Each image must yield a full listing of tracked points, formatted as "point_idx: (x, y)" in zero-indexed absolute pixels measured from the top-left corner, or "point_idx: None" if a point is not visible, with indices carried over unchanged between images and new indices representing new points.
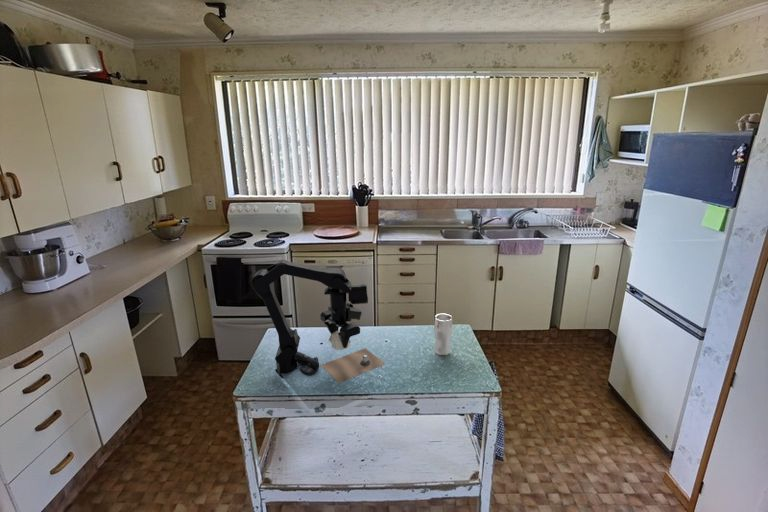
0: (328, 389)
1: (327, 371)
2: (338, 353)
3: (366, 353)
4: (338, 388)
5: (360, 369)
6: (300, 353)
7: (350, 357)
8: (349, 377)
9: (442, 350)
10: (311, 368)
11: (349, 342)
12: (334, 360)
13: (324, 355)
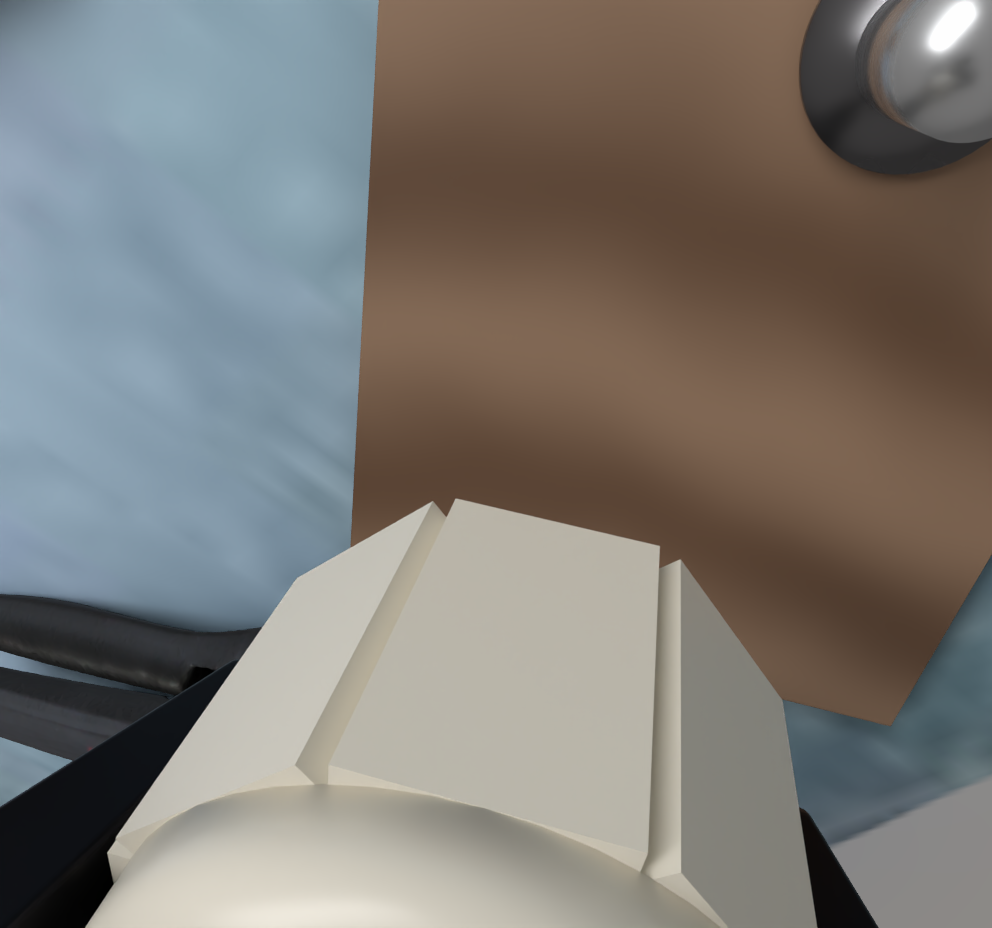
0: (805, 779)
1: None
2: (175, 130)
3: None
4: (904, 722)
5: (977, 307)
6: (66, 748)
7: (495, 136)
8: (944, 579)
9: None
10: None
11: None
12: (379, 401)
13: (117, 334)
